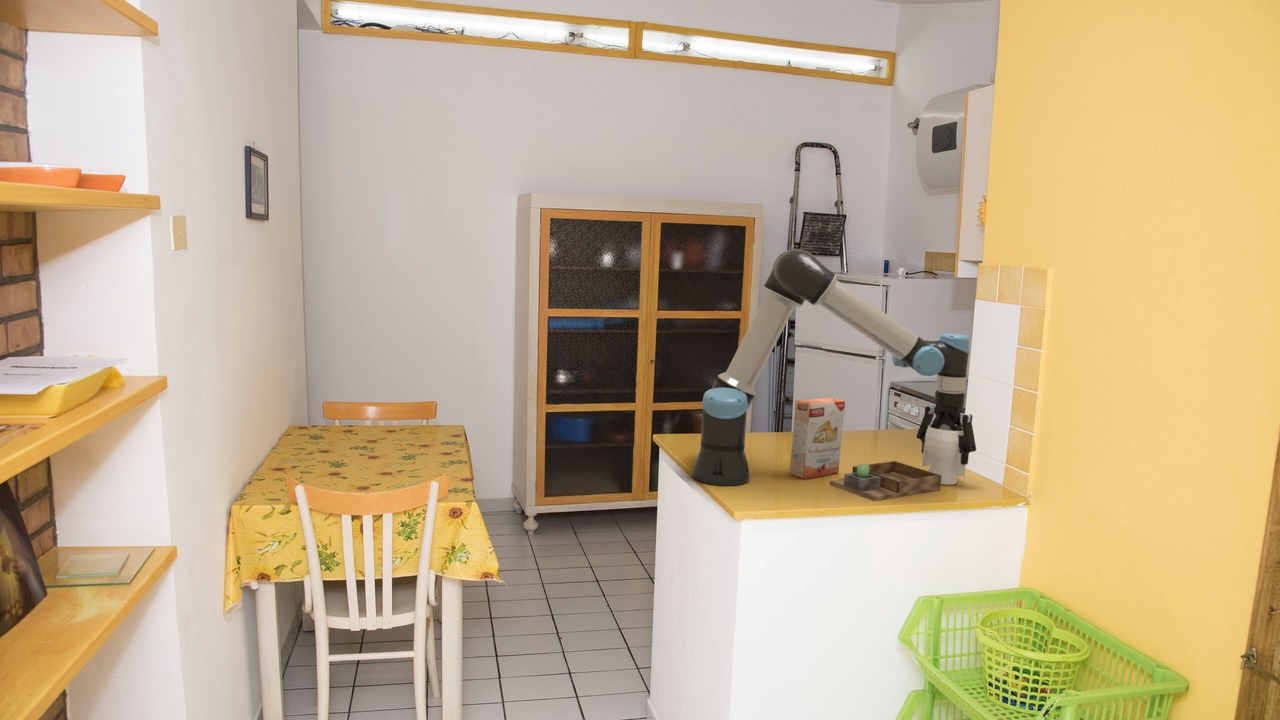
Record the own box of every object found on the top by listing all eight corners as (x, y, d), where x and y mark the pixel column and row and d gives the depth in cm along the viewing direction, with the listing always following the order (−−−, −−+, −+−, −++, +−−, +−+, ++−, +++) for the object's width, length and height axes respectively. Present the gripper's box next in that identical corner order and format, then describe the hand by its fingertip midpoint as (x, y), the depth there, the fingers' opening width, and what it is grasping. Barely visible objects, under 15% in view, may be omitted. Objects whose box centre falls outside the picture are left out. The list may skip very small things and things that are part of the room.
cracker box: (805, 480, 227) (810, 403, 224) (788, 475, 232) (793, 399, 229) (840, 474, 235) (846, 400, 232) (824, 469, 240) (829, 396, 237)
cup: (957, 488, 225) (963, 433, 223) (917, 481, 231) (922, 427, 229) (966, 480, 234) (971, 427, 232) (926, 473, 240) (931, 421, 238)
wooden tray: (874, 500, 211) (876, 485, 210) (829, 484, 224) (830, 469, 224) (939, 490, 223) (941, 475, 223) (893, 474, 237) (894, 460, 236)
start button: (862, 480, 217) (863, 467, 217) (854, 477, 220) (855, 464, 219) (870, 479, 219) (871, 466, 218) (862, 476, 221) (863, 463, 221)
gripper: (996, 397, 221) (988, 479, 224) (925, 383, 241) (918, 459, 244) (977, 399, 217) (969, 482, 220) (907, 385, 237) (900, 461, 240)
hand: (942, 470), depth 232 cm, fingers closed on cup, 11 cm apart
